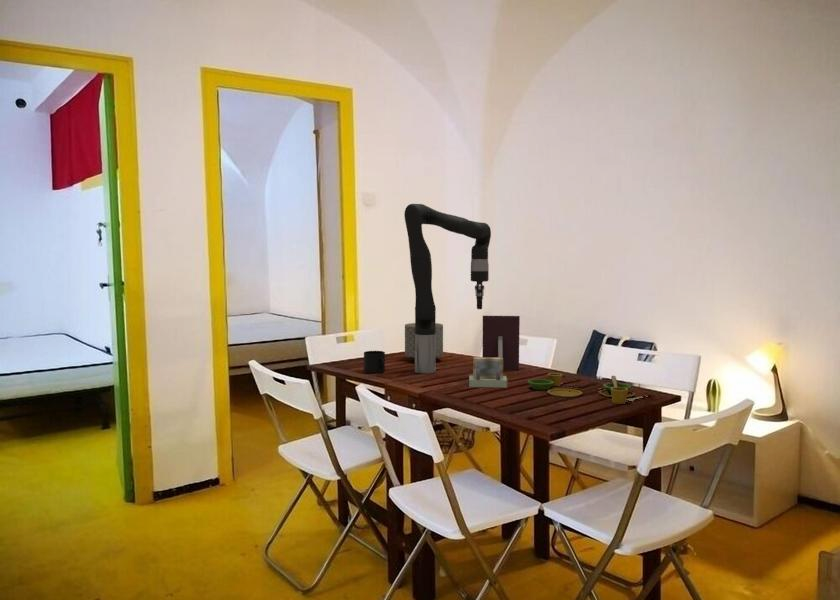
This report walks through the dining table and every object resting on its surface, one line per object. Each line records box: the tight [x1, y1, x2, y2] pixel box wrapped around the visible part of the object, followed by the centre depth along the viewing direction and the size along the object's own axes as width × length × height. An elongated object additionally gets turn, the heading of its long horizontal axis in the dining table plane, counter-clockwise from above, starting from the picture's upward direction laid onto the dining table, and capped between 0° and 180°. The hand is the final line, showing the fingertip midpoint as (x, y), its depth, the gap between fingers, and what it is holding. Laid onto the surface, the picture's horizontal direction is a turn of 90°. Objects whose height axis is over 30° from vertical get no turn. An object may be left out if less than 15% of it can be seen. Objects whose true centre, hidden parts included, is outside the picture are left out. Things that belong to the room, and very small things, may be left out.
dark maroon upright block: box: [481, 315, 521, 371], centre depth 288 cm, size 17×10×25 cm, turn 84°
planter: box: [404, 322, 444, 362], centre depth 317 cm, size 19×19×18 cm
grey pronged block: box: [468, 369, 508, 389], centre depth 258 cm, size 15×9×7 cm, turn 85°
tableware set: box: [527, 372, 649, 405], centre depth 243 cm, size 41×28×6 cm
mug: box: [363, 350, 386, 375], centre depth 286 cm, size 9×12×9 cm
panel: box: [472, 356, 504, 379], centre depth 258 cm, size 12×4×8 cm, turn 85°
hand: (479, 308), depth 269 cm, fingers open, 8 cm apart
